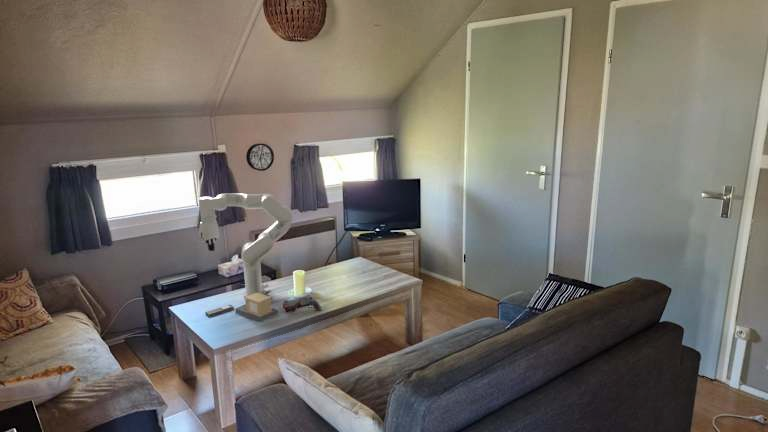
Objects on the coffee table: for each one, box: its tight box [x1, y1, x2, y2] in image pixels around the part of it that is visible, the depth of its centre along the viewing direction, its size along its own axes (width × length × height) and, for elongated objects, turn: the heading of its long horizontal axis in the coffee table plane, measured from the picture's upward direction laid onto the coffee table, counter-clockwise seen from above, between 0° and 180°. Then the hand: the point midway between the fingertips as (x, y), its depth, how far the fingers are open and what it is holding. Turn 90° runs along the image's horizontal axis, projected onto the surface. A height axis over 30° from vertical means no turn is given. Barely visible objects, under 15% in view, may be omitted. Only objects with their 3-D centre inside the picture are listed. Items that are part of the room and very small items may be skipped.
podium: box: [234, 303, 279, 323], centre depth 261 cm, size 12×20×2 cm, turn 53°
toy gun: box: [281, 295, 323, 313], centre depth 262 cm, size 4×20×10 cm, turn 95°
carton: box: [244, 293, 273, 317], centre depth 256 cm, size 8×8×11 cm
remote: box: [205, 304, 235, 318], centre depth 263 cm, size 14×4×2 cm, turn 132°
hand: (211, 250), depth 275 cm, fingers closed
